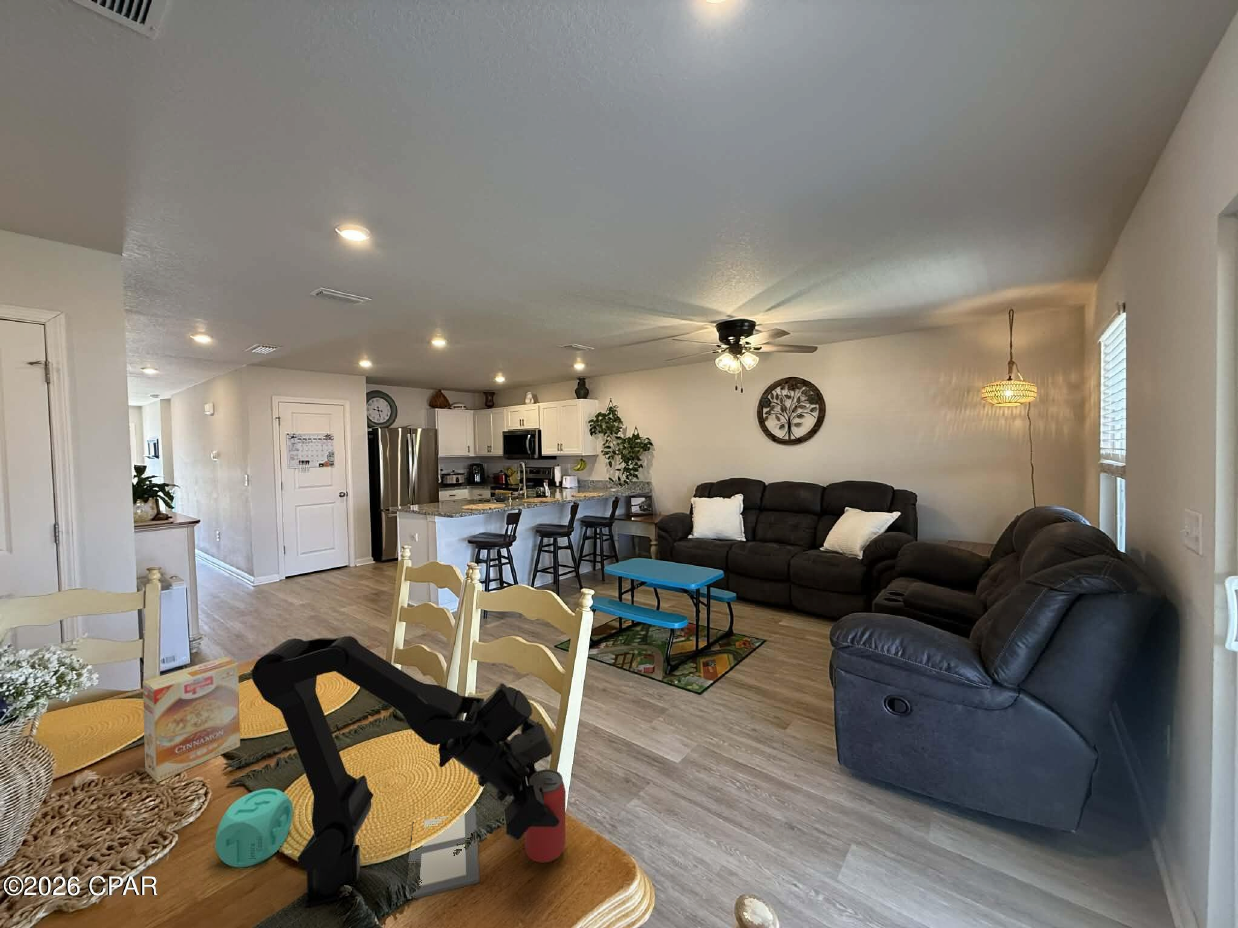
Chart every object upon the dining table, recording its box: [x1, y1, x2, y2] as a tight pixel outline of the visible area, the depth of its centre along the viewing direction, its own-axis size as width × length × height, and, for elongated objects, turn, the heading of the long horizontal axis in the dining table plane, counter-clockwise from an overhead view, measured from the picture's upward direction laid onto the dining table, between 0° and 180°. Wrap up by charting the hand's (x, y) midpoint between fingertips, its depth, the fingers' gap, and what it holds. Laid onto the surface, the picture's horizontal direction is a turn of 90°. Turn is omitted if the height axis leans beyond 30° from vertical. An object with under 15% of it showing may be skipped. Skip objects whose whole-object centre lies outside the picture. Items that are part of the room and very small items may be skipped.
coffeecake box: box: [142, 656, 241, 783], centre depth 111 cm, size 15×7×20 cm, turn 148°
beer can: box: [524, 768, 567, 864], centre depth 85 cm, size 7×7×12 cm
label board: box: [407, 805, 480, 899], centre depth 87 cm, size 11×17×1 cm, turn 18°
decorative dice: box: [214, 788, 294, 868], centre depth 87 cm, size 8×8×8 cm
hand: (553, 808), depth 85 cm, fingers closed on beer can, 6 cm apart
